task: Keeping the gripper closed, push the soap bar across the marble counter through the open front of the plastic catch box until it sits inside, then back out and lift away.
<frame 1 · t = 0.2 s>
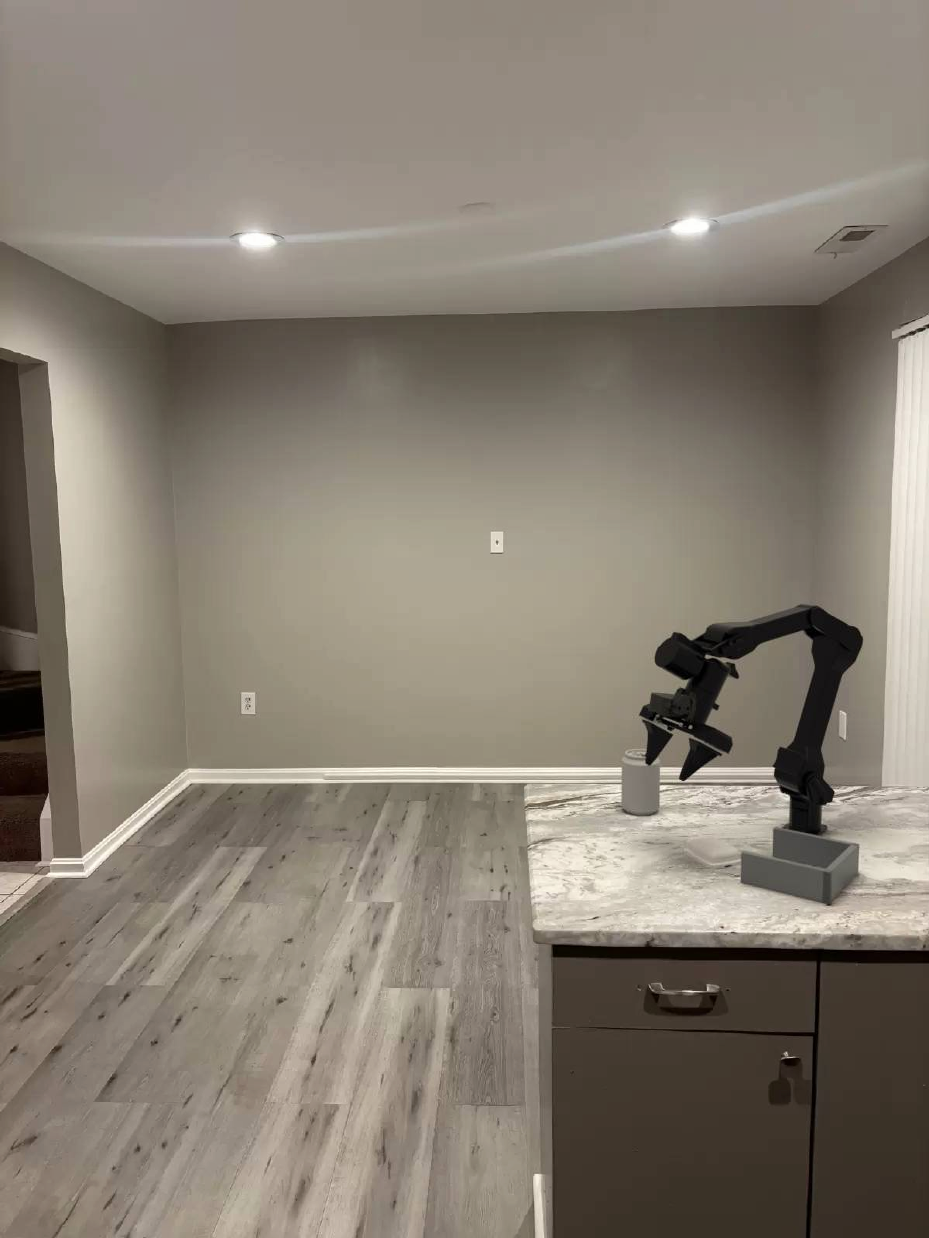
hand: (663, 772, 163), 15 cm above the countertop, tool tilted 30°, fingers open, 9 cm apart
catch box: (799, 877, 154), on the countertop
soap: (712, 860, 163), on the countertop
can: (640, 811, 188), on the countertop
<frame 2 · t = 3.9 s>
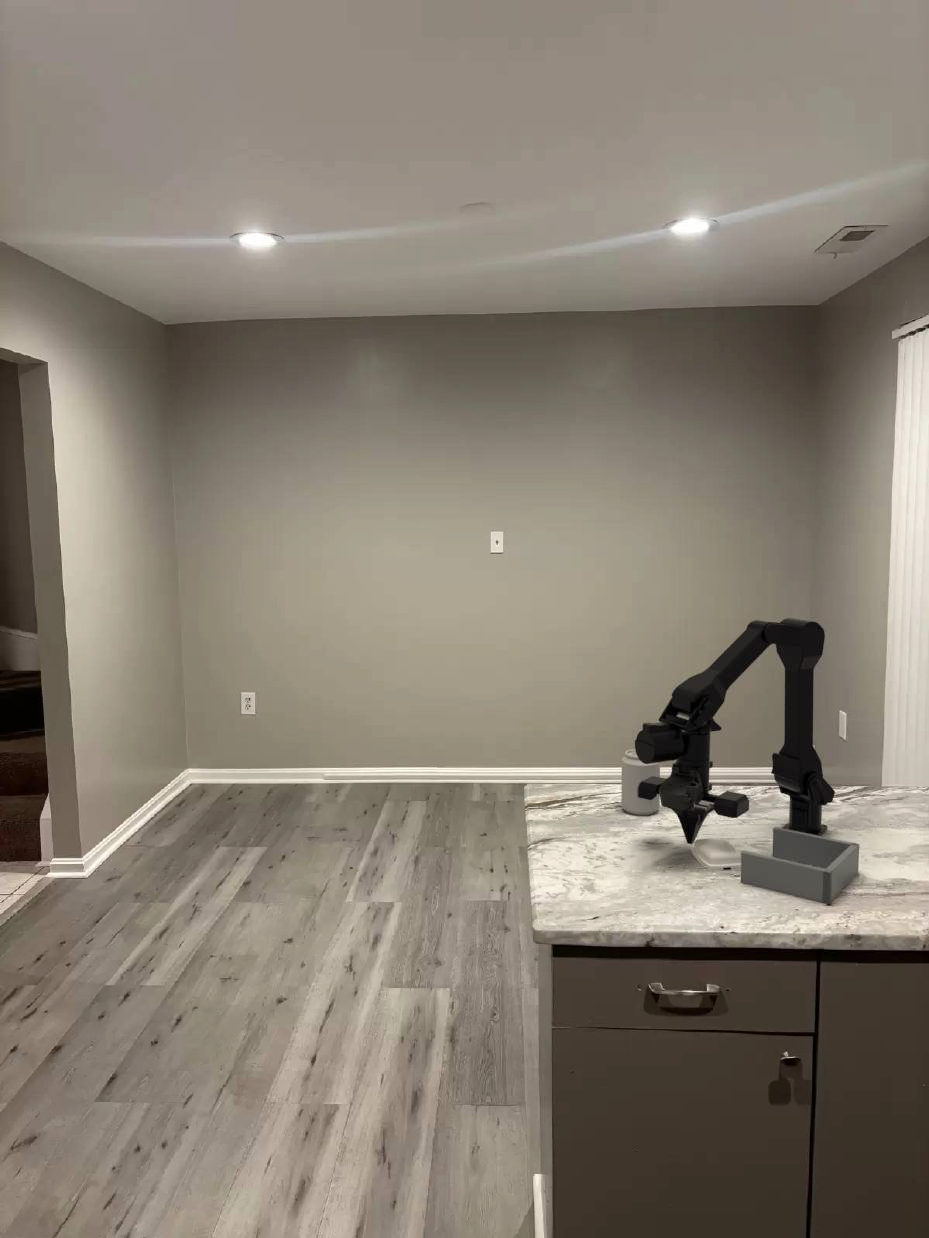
hand: (690, 843, 165), 2 cm above the countertop, tool pointing down, fingers closed
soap: (717, 862, 162), on the countertop
everything else where it was.
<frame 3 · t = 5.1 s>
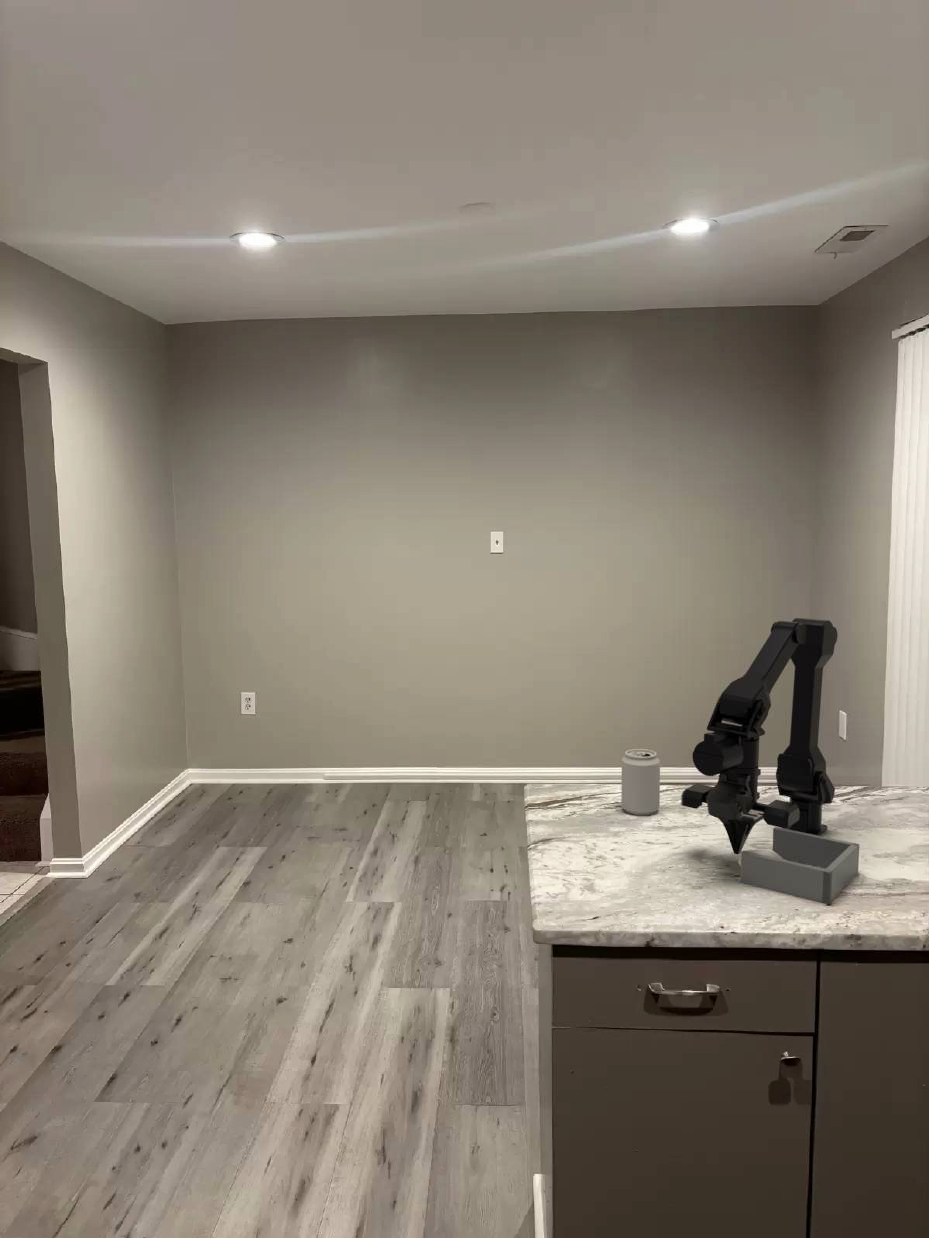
hand: (737, 853, 160), 2 cm above the countertop, tool pointing down, fingers closed
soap: (765, 873, 157), on the countertop, touching gripper
everything else where it was.
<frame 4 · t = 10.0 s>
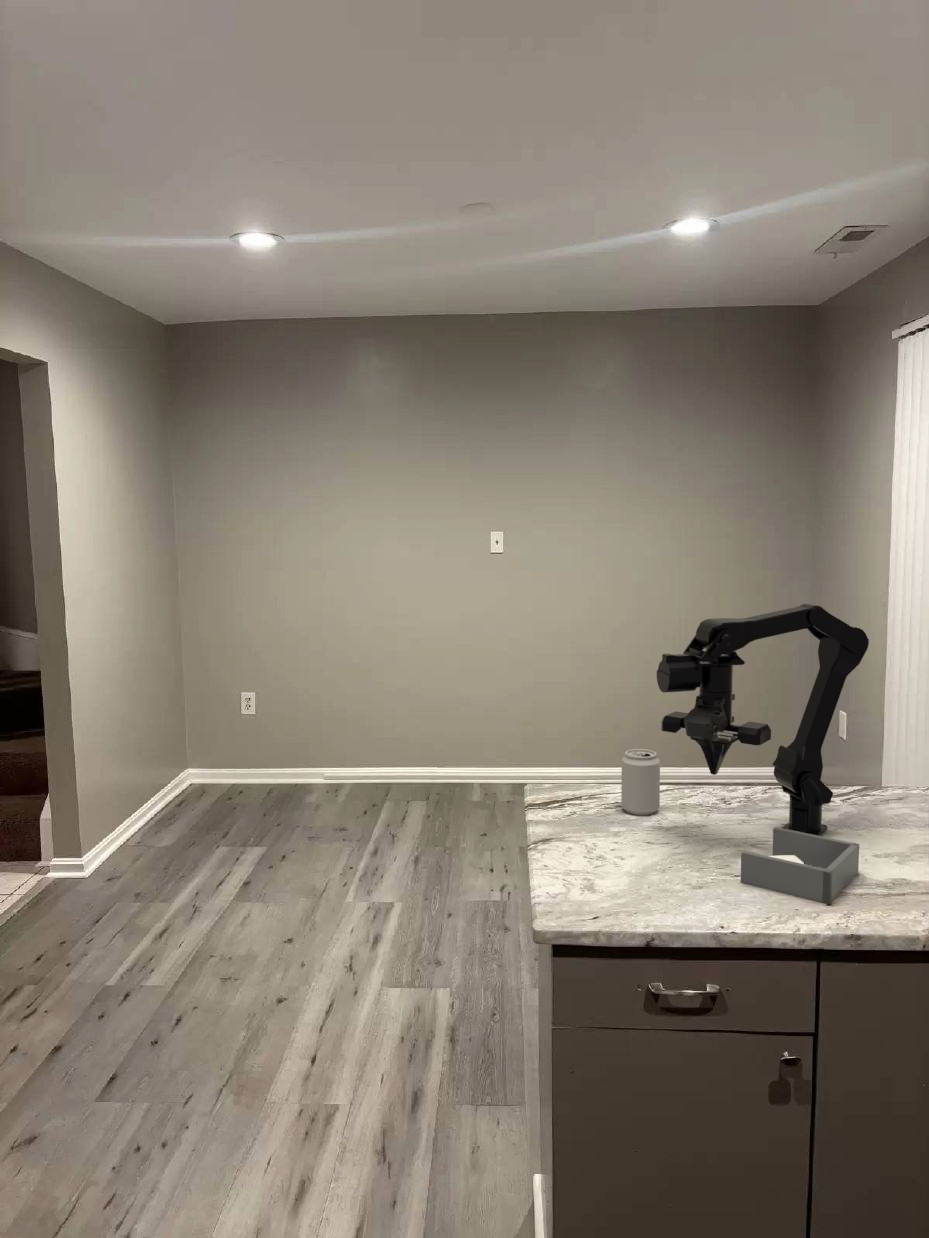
hand: (714, 774, 171), 12 cm above the countertop, tool pointing down, fingers closed
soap: (788, 880, 154), on the countertop
everything else where it was.
at the end: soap inside the target area on the catch box (3.0 cm from its centre), point -0.6 cm above the catch box's base; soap moved 13.4 cm from its start; the gripper is holding nothing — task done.
